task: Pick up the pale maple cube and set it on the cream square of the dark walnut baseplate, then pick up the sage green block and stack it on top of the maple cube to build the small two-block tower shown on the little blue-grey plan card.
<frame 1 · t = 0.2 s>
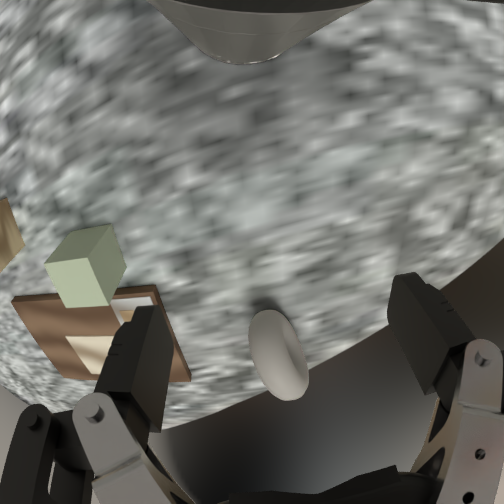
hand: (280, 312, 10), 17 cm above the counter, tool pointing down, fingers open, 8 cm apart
donut: (274, 320, 34), on the counter
baseplate: (98, 339, 34), on the counter
maple block: (1, 226, 25), on the counter
sage block: (98, 249, 28), on the counter
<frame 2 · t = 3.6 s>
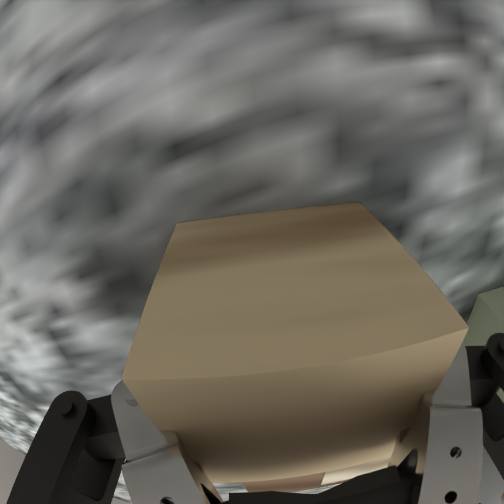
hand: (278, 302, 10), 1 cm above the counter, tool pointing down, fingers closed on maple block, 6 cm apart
baseplate: (370, 443, 20), on the counter
maple block: (277, 288, 11), on the counter, touching gripper
sage block: (491, 318, 13), on the counter
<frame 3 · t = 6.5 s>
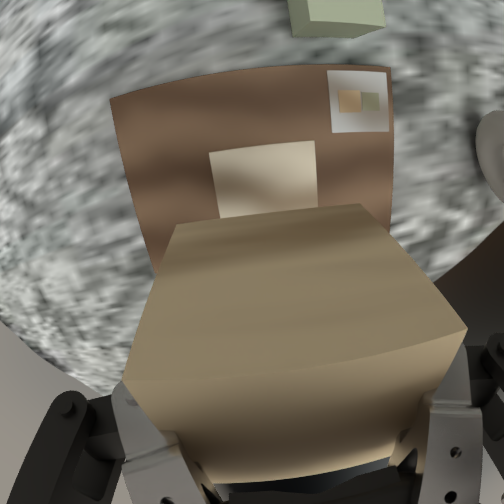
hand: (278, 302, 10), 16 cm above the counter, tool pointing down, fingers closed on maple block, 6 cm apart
donut: (478, 147, 23), on the counter
baseplate: (263, 166, 24), on the counter
maple block: (276, 289, 11), point 15 cm above the counter, touching gripper
sage block: (319, 10, 17), on the counter
when the fingers open (3 cm above the counter, at t = 9.6 s): maple block drops 1 cm, resting on baseplate.
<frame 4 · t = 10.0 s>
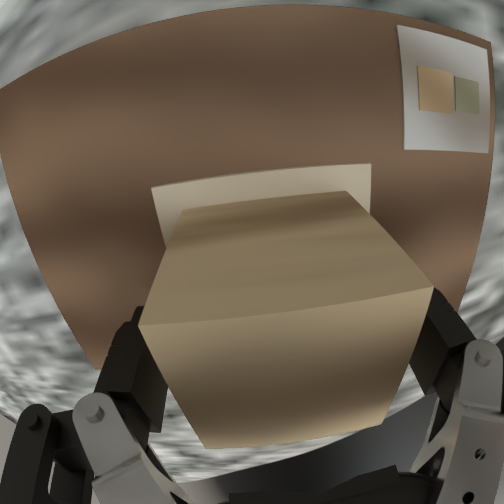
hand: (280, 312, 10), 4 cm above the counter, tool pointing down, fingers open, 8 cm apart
baseplate: (265, 210, 12), on the counter
maple block: (272, 269, 12), point 1 cm above the counter, touching baseplate
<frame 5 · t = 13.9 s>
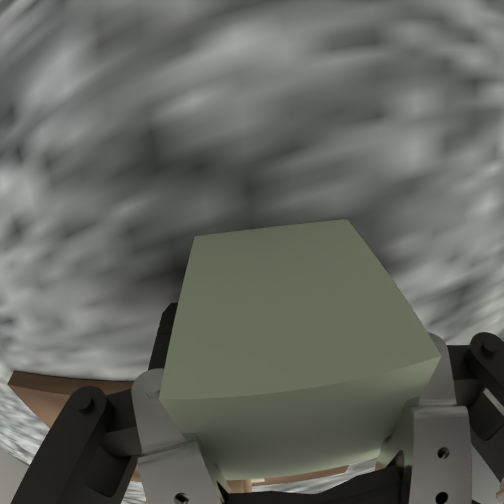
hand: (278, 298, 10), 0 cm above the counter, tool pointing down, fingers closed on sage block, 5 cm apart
donut: (489, 371, 17), on the counter
baseplate: (199, 445, 17), on the counter
sage block: (277, 289, 11), on the counter, touching gripper
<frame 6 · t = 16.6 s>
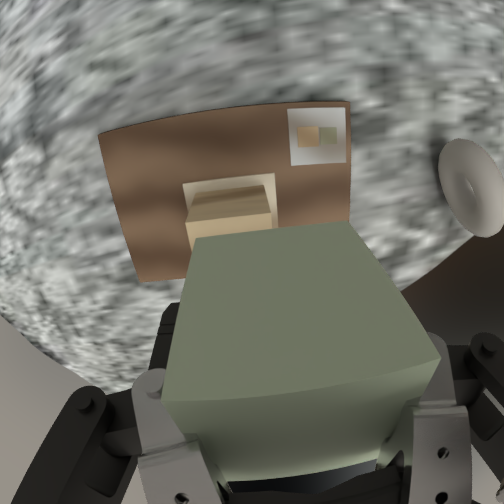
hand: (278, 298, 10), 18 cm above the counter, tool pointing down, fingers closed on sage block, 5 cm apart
donut: (443, 171, 27), on the counter
baseplate: (231, 194, 28), on the counter
maple block: (233, 219, 27), point 1 cm above the counter, touching baseplate
sage block: (277, 291, 11), point 18 cm above the counter, touching gripper
when the fingers open (9 cm above the counter, at t = 19.0 s): sage block drops 1 cm, resting on maple block.
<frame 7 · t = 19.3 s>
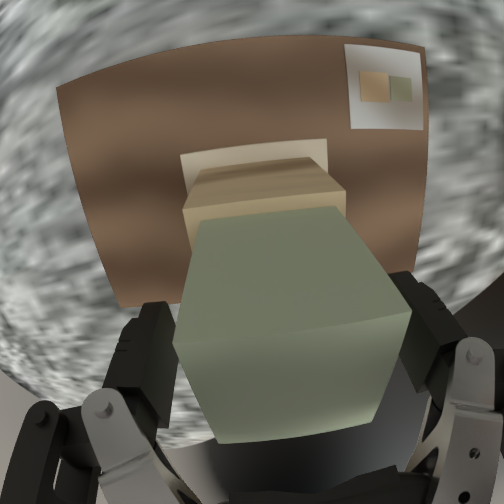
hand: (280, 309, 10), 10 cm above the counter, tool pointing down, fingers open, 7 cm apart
baseplate: (256, 173, 18), on the counter
maple block: (260, 212, 17), point 1 cm above the counter, touching baseplate, sage block
sage block: (273, 270, 12), point 7 cm above the counter, touching maple block
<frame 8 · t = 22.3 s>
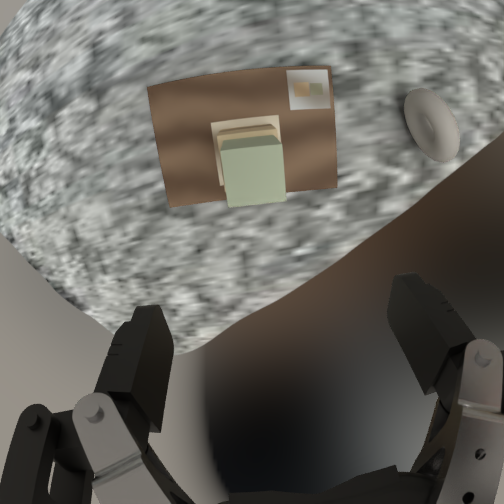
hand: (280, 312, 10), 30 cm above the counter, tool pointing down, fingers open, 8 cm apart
donut: (410, 120, 34), on the counter
baseplate: (246, 133, 35), on the counter
maple block: (248, 150, 35), point 1 cm above the counter, touching baseplate, sage block
sage block: (251, 161, 30), point 7 cm above the counter, touching maple block
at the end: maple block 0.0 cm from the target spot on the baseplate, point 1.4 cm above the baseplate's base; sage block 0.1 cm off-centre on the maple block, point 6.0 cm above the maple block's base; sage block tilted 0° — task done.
